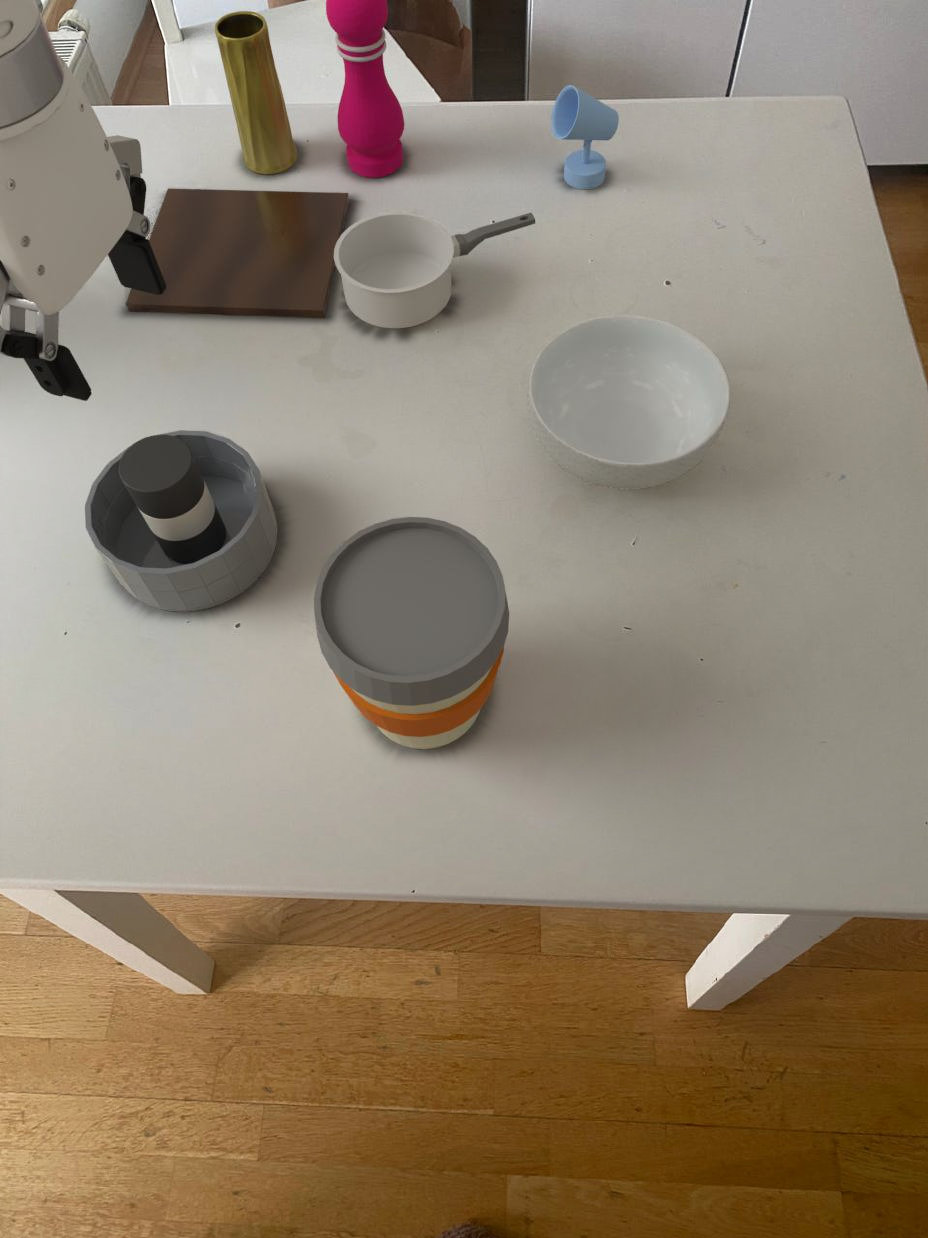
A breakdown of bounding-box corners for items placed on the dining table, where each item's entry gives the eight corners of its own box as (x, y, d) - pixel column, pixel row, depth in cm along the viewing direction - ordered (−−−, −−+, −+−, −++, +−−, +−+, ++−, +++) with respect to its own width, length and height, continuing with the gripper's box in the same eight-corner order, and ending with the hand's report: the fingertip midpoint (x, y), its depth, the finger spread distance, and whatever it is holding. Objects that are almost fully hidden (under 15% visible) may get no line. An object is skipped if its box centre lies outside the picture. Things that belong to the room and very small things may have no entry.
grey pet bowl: (93, 607, 73) (62, 568, 68) (136, 471, 80) (111, 426, 75) (260, 616, 73) (242, 577, 67) (290, 478, 79) (275, 433, 74)
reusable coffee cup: (503, 620, 72) (505, 510, 59) (510, 769, 66) (515, 683, 53) (347, 625, 72) (314, 516, 59) (339, 775, 66) (302, 690, 53)
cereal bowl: (635, 550, 75) (648, 499, 69) (487, 447, 80) (486, 392, 74) (750, 432, 80) (772, 375, 74) (604, 344, 86) (613, 284, 80)
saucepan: (551, 299, 89) (555, 252, 84) (359, 350, 87) (351, 305, 82) (511, 228, 95) (513, 180, 90) (329, 274, 92) (320, 227, 87)
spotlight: (558, 197, 97) (618, 183, 98) (565, 106, 88) (630, 92, 89) (543, 170, 99) (601, 157, 100) (548, 78, 90) (611, 65, 91)
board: (128, 311, 90) (125, 303, 89) (170, 195, 99) (167, 187, 98) (324, 318, 89) (322, 310, 88) (349, 200, 98) (348, 192, 97)
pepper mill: (334, 151, 102) (302, -49, 84) (393, 134, 103) (373, -66, 86) (356, 188, 99) (327, -12, 81) (417, 170, 100) (401, -31, 82)
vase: (264, 182, 99) (232, 49, 87) (233, 157, 102) (197, 23, 89) (308, 158, 101) (283, 24, 89) (277, 134, 104) (248, 0, 91)
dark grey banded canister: (154, 563, 75) (109, 490, 66) (169, 509, 77) (128, 432, 69) (218, 566, 74) (182, 493, 66) (232, 512, 77) (199, 435, 68)
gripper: (9, -36, 47) (123, 240, 62) (-207, 162, 39) (-17, 423, 55) (134, -14, 46) (220, 262, 61) (-64, 195, 38) (91, 453, 53)
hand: (108, 338), depth 58 cm, fingers open, 9 cm apart
